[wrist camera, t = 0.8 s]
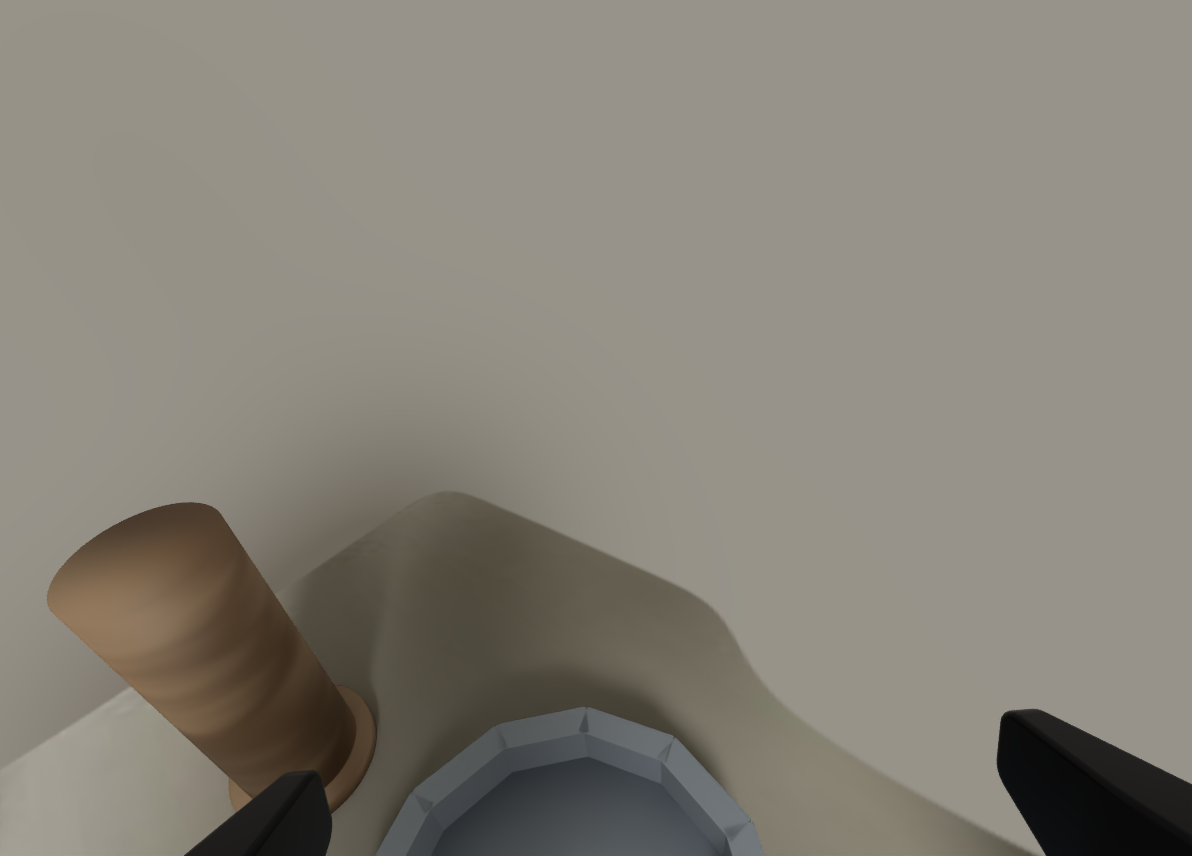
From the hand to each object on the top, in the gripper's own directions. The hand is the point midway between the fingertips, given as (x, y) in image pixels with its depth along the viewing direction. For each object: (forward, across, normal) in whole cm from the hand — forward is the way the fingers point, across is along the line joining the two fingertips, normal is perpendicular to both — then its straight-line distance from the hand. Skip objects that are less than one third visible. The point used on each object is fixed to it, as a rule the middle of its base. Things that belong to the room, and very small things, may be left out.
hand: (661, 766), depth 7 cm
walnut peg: (+14, +14, +12) cm, 23 cm away
